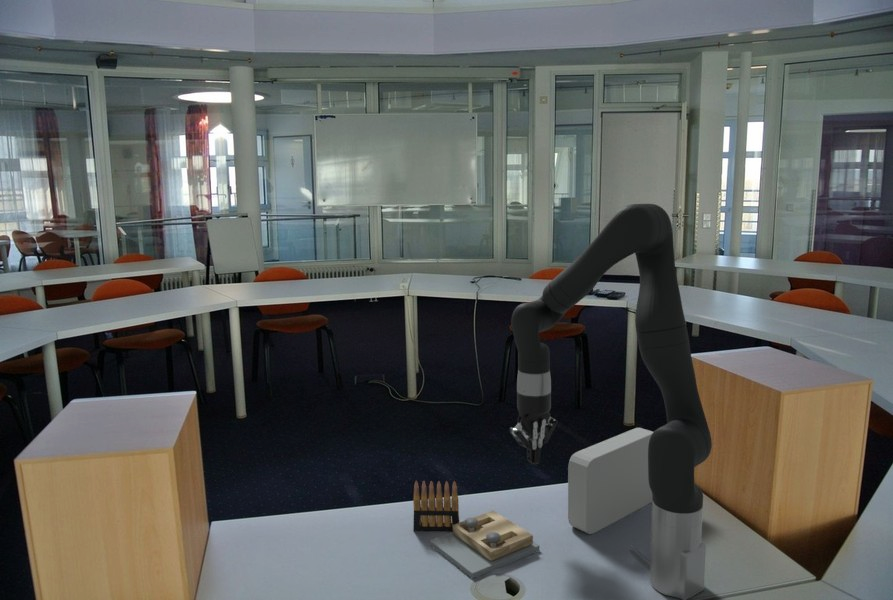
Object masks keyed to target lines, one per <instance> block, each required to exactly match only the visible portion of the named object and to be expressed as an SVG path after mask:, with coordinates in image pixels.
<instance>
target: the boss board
mask: <svg viewBox="0 0 893 600" xmlns="http://www.w3.org/2000/svg"><path fill="white" fill-rule="evenodd" d="M464 521H465V526H466V527H469V530H468V531H467V532H469V533H470V532H473V531H476V530H475V529H474V527H476V526H478V520H477V519H475V518H474V517H467V518H465V519H464ZM480 529H481V528H480ZM477 530H478V529H477ZM486 540H487V541H488V542H490V543H491V545H490V546H489V547H490V548H494V547H497V546H499V545H502V544H504V543H502V544H499V545H497V544H496V543H497V542H499V541H500V534H498V533H495V532H491V533H488V534H487V535H486ZM429 546H430V547H432V548H433V549H434V550H435V551H436V552H438V553H439V554H441V555H442V556H443V557H444V558H446V559H447V560H448V561H449V562H450V563H452V564H453V565H454V566H455V567H457V568H458V569H460V570H461V571H462V572H463V573H465V574H466V575H467V576H468V577H469V578H471V579H475V578H478V577H480V576H483V575H485V574H487V573H490V572H492V571H495V570H497V569H499V568H502V567H503V566H507V565H508V564H511V563H513V562H516V561H518V560H520V559H523V558H525V557H527V556H531V555H533V554H534V553H535V554H536V553H538V552H540V545H539V544H538V543H536V542H535V541H533V544H531V545H529V546H526V547H524V548H521V549H519V550H516V551H514V552H512V553H509V554H507V555H504V556H502V557H499V558H497V559H494V560H492V561H490V560H489V559H488V558H486V557H485V556H483V555H482V554H481V553H479V552H478V551H477V550H475V549H474V548H472V547H471V546H470V545H468V544H467V543H465V542H464V541H463V540H461V539H460V538H459V537H457V536H456V535H454V534H453V532H447V533H446V534H444V535H441V536H438V537H434V538H433V539H430V540H429Z"/></svg>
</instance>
